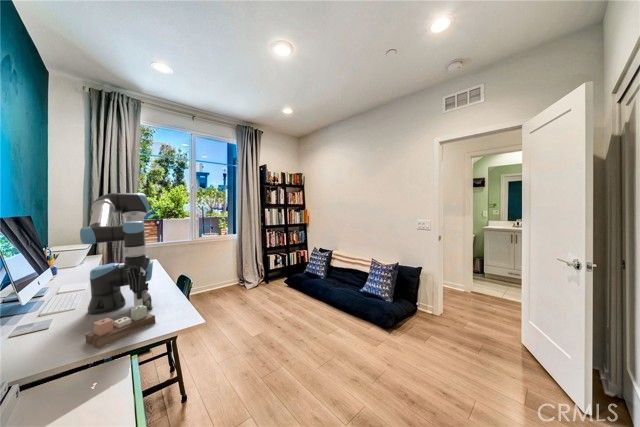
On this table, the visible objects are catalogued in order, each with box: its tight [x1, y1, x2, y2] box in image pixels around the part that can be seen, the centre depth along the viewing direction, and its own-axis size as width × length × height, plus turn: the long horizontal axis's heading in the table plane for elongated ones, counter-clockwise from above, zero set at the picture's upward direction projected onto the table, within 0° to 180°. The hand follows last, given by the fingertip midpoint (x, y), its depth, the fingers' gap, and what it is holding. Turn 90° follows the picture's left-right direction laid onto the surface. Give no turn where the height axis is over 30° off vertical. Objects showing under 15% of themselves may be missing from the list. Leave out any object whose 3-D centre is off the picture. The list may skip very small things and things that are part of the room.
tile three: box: [129, 305, 148, 321], centre depth 108 cm, size 4×4×5 cm
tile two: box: [113, 316, 131, 328], centre depth 102 cm, size 4×4×5 cm
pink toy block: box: [93, 317, 114, 337], centre depth 96 cm, size 4×4×5 cm
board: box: [84, 312, 156, 350], centre depth 102 cm, size 10×21×4 cm, turn 156°
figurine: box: [129, 282, 153, 312], centre depth 121 cm, size 10×10×15 cm
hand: (138, 305), depth 108 cm, fingers closed
